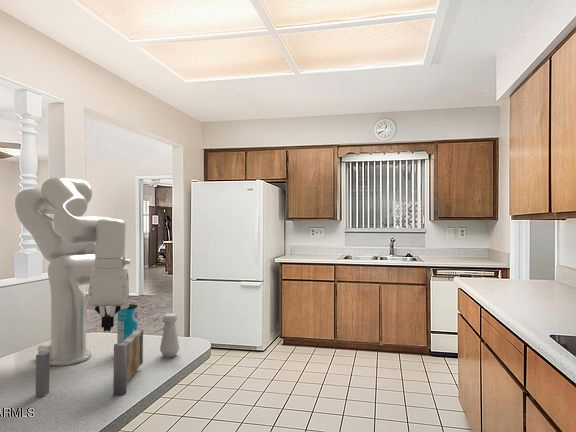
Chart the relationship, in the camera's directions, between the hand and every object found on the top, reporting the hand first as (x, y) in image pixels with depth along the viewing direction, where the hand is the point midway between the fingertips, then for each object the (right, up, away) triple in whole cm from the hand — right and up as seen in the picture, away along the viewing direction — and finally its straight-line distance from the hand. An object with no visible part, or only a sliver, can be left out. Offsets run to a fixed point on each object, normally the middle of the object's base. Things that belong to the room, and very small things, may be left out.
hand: (107, 329), depth 115 cm
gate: (+8, -11, -3) cm, 14 cm away
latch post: (-10, -12, -13) cm, 21 cm away
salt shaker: (+13, -13, +16) cm, 24 cm away
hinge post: (+8, -12, -12) cm, 19 cm away
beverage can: (-2, -13, +18) cm, 22 cm away
